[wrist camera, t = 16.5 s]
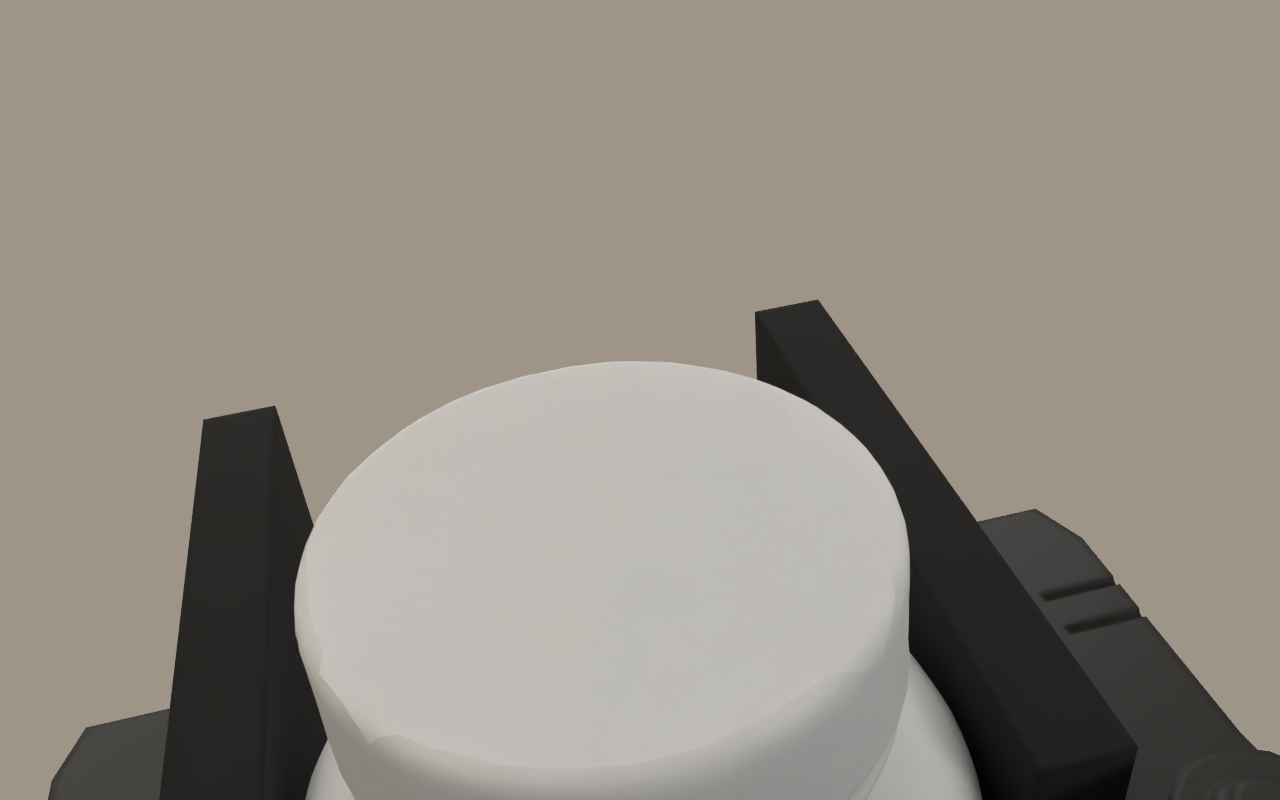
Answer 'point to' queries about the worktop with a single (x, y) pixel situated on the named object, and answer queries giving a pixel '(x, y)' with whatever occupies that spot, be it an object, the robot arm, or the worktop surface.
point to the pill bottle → (620, 603)
